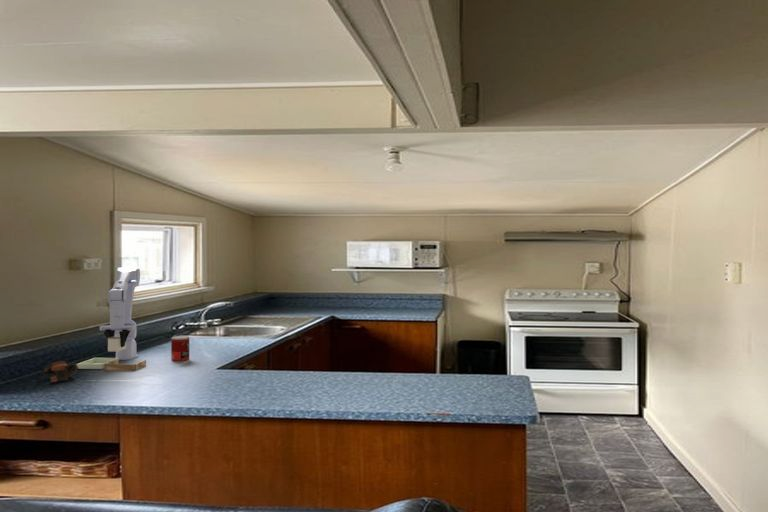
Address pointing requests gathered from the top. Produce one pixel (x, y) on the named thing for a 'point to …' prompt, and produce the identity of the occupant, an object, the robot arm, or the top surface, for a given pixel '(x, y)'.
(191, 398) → the top surface
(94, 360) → the tray
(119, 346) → the grey box
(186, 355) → the canned food
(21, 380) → the top surface
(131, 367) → the dock
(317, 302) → the top surface
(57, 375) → the toy turtle
